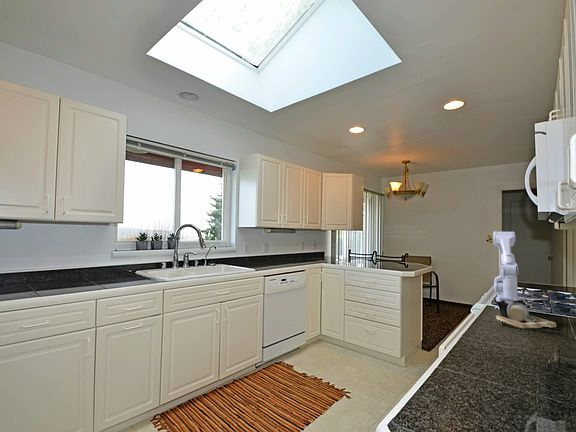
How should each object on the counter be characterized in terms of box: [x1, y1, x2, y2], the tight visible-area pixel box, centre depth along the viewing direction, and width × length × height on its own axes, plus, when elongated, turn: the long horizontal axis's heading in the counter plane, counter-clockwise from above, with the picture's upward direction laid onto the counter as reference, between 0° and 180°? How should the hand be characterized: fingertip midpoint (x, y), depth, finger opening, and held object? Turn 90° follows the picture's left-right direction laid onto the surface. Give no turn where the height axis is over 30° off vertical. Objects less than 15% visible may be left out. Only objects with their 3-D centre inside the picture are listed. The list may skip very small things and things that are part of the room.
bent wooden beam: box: [495, 314, 557, 329], centre depth 141 cm, size 17×14×2 cm
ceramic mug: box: [507, 303, 536, 323], centre depth 145 cm, size 11×8×8 cm
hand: (511, 316), depth 149 cm, fingers open, 7 cm apart
